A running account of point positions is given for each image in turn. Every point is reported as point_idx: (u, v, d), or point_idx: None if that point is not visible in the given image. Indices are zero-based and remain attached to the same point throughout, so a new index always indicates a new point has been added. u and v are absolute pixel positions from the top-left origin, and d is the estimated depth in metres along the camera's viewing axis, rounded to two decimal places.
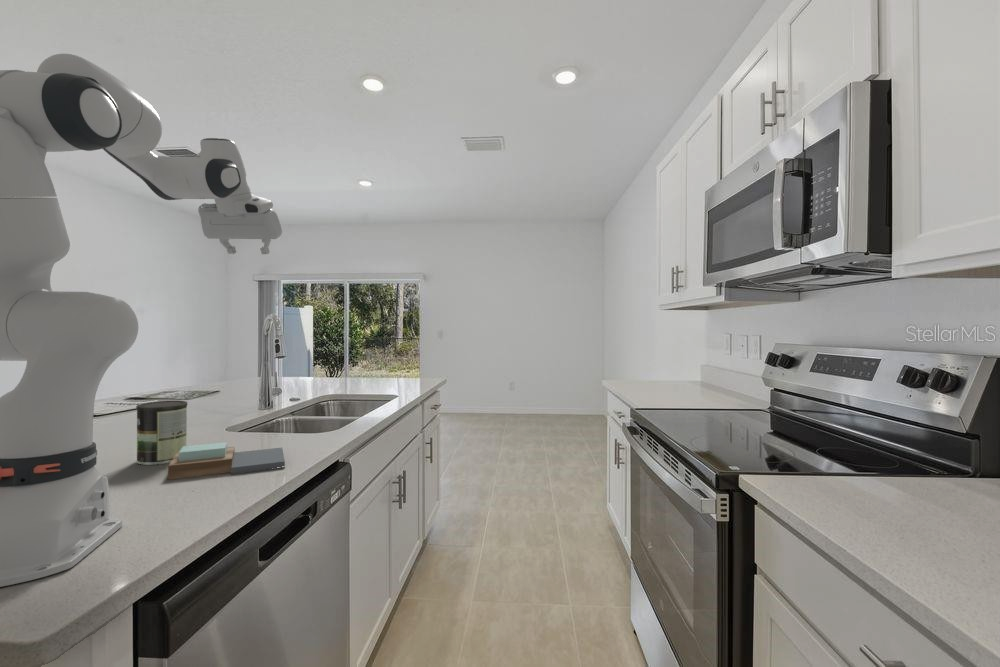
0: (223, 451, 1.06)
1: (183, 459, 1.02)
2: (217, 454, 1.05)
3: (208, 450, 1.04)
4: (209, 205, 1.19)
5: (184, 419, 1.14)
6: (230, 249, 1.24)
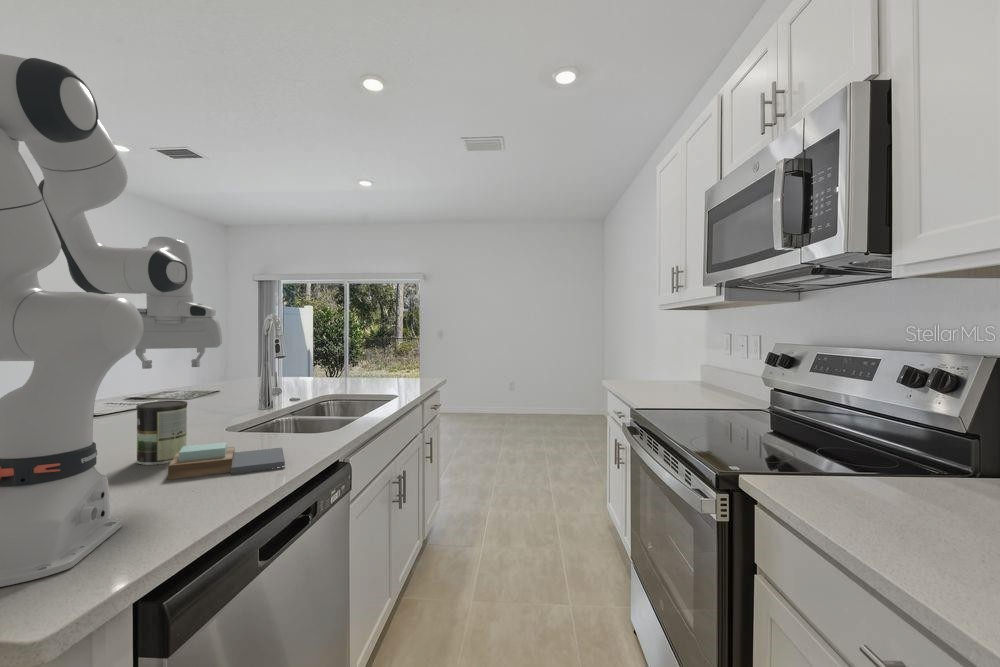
0: (223, 451, 1.06)
1: (183, 459, 1.02)
2: (217, 454, 1.05)
3: (208, 450, 1.04)
4: None
5: (184, 419, 1.14)
6: (147, 362, 1.03)
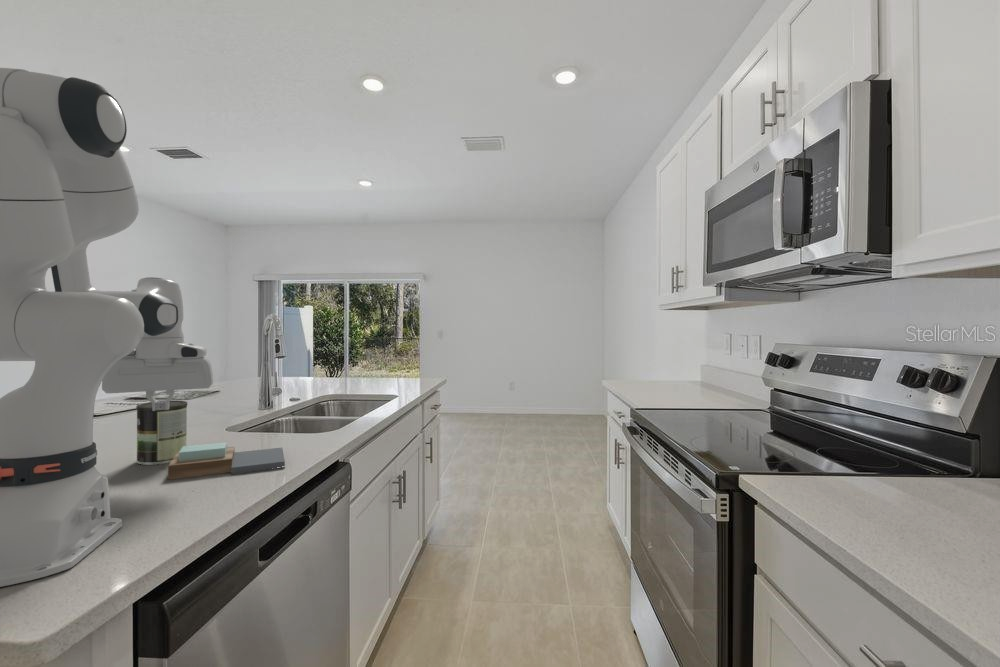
0: (223, 451, 1.06)
1: (183, 459, 1.02)
2: (217, 454, 1.05)
3: (208, 450, 1.04)
4: None
5: (184, 419, 1.14)
6: (158, 404, 1.02)
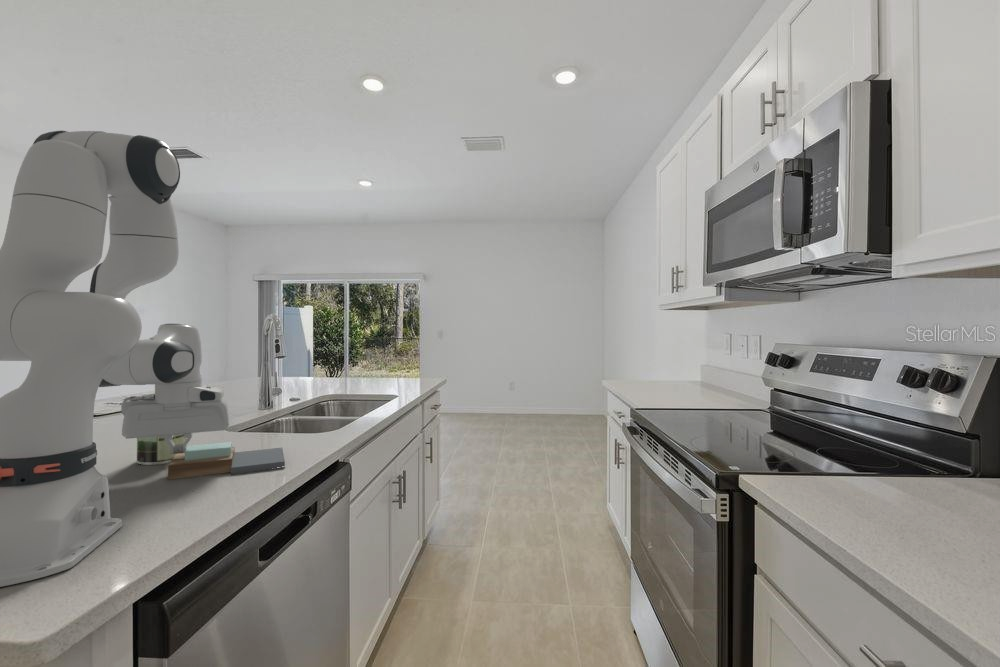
0: (228, 450, 1.06)
1: (189, 458, 1.02)
2: (222, 453, 1.06)
3: (214, 449, 1.05)
4: (141, 397, 1.00)
5: None
6: (176, 447, 1.03)
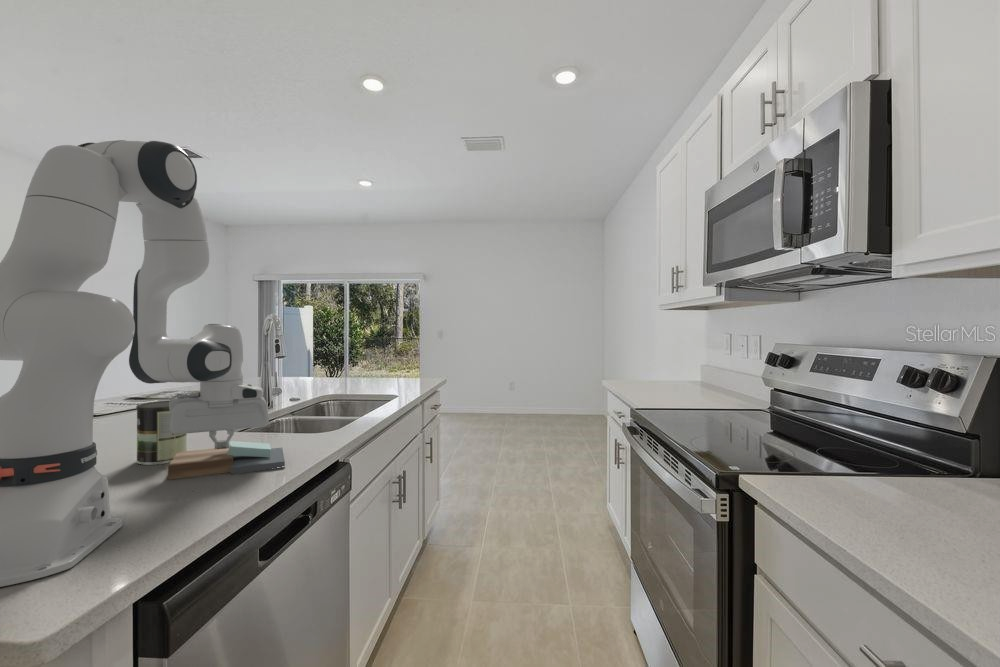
0: (268, 452, 1.10)
1: (232, 454, 1.06)
2: (262, 454, 1.10)
3: (255, 449, 1.09)
4: (187, 395, 1.04)
5: None
6: (219, 443, 1.07)
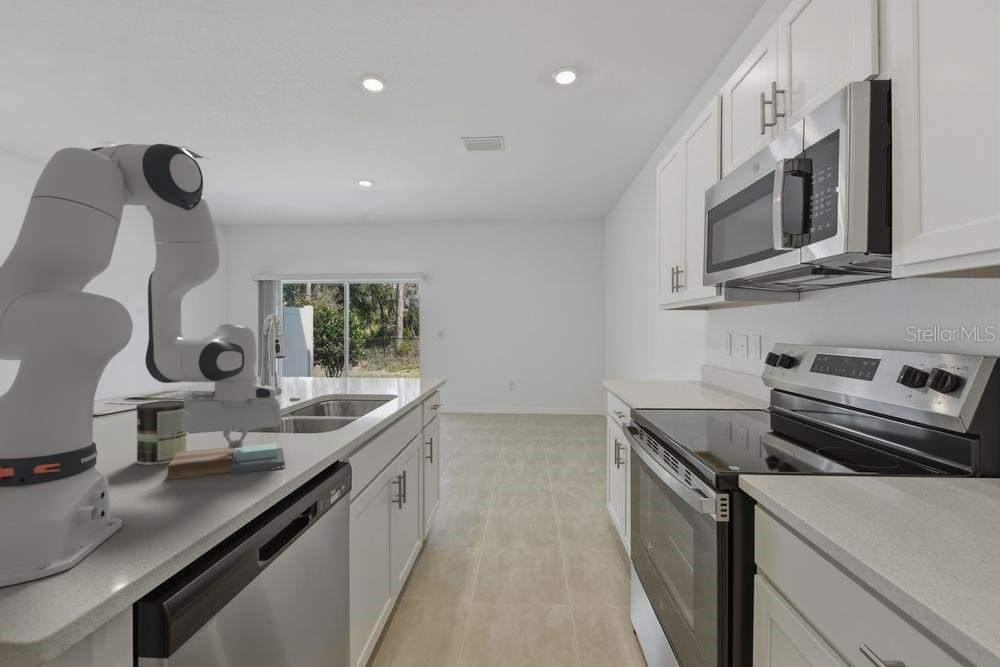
0: (276, 451, 1.11)
1: (240, 459, 1.07)
2: (270, 454, 1.10)
3: (262, 450, 1.10)
4: (202, 394, 1.06)
5: (184, 419, 1.14)
6: (233, 442, 1.08)
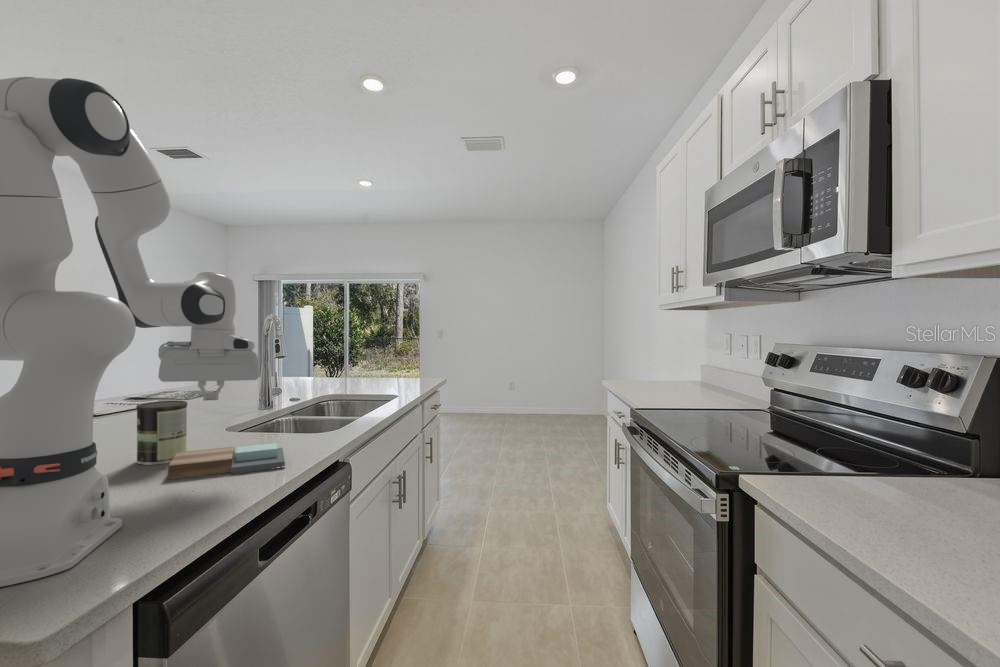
0: (276, 451, 1.11)
1: (240, 459, 1.07)
2: (270, 454, 1.10)
3: (262, 450, 1.10)
4: (178, 343, 1.03)
5: (184, 419, 1.14)
6: (208, 394, 1.05)
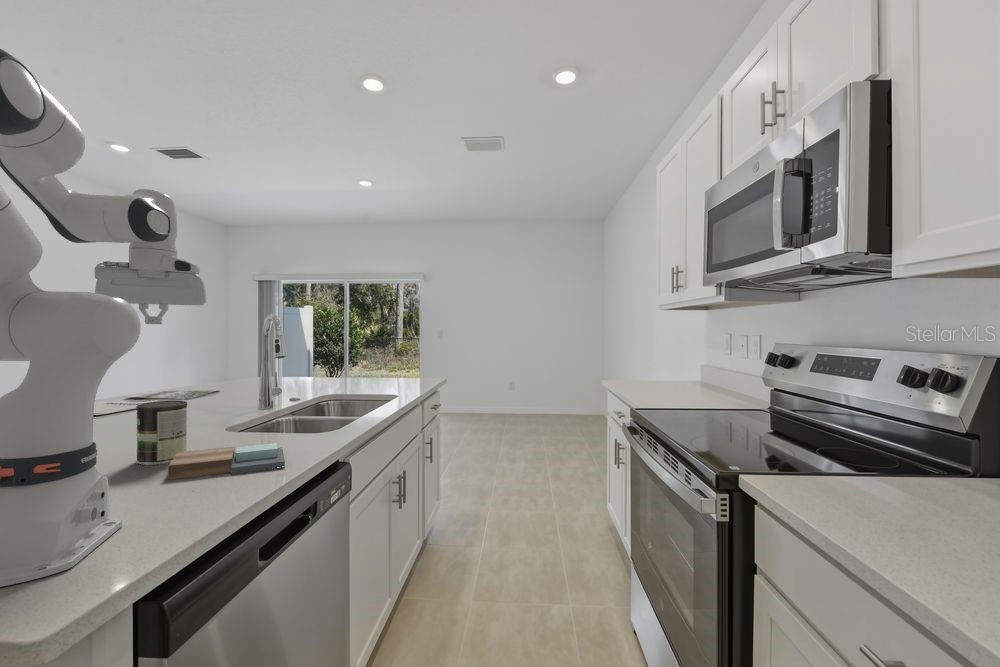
0: (276, 451, 1.11)
1: (240, 459, 1.07)
2: (270, 454, 1.10)
3: (262, 450, 1.10)
4: (115, 263, 0.99)
5: (184, 419, 1.14)
6: (150, 317, 1.02)
